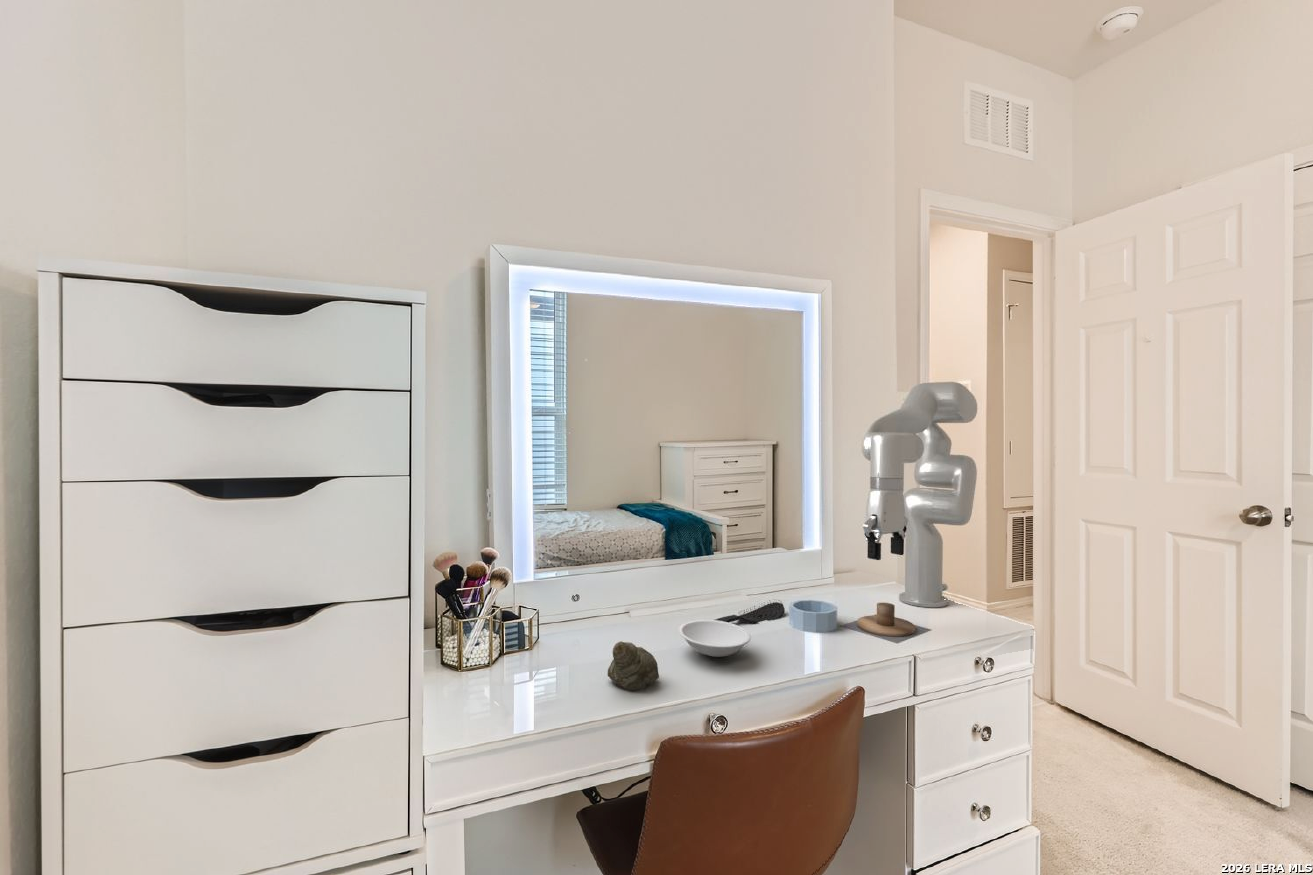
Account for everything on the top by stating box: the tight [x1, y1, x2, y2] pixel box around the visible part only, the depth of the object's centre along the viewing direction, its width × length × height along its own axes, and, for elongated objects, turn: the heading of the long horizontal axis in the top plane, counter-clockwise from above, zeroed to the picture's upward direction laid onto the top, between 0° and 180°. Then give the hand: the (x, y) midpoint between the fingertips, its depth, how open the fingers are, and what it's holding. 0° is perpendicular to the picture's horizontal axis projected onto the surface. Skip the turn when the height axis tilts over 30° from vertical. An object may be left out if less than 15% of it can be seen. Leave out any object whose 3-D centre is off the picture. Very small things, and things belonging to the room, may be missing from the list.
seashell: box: [606, 640, 660, 691], centre depth 119 cm, size 11×12×10 cm
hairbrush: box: [714, 598, 786, 625], centre depth 155 cm, size 8×4×25 cm
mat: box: [840, 613, 932, 644], centre depth 149 cm, size 15×15×1 cm
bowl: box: [788, 599, 838, 634], centre depth 151 cm, size 11×11×5 cm
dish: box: [678, 619, 752, 658], centre depth 132 cm, size 18×14×5 cm
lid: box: [856, 602, 915, 637], centre depth 149 cm, size 13×13×6 cm
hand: (885, 556), depth 149 cm, fingers open, 9 cm apart
